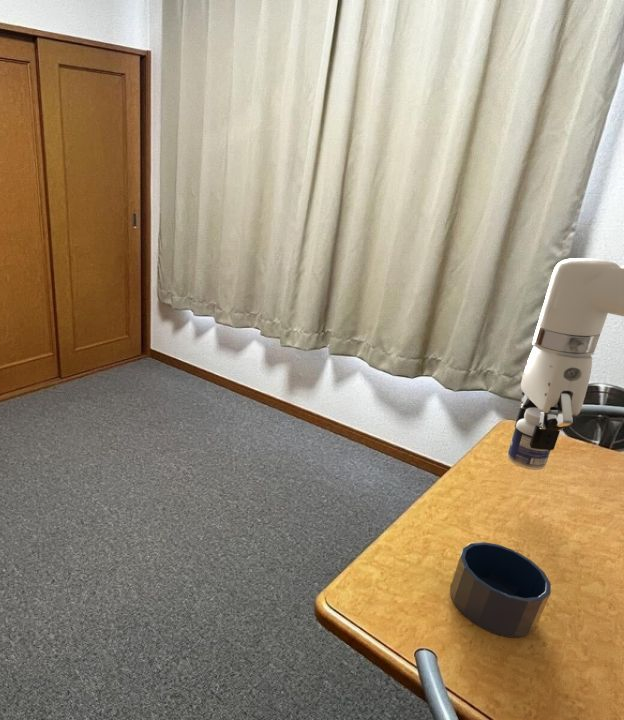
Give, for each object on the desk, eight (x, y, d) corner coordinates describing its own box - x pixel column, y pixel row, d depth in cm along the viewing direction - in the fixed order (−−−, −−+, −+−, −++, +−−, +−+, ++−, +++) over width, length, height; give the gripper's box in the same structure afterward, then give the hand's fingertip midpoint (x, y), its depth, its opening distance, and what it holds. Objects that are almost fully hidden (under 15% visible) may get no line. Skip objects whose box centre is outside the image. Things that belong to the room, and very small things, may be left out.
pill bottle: (510, 449, 86) (524, 402, 83) (547, 461, 83) (564, 412, 79) (503, 462, 83) (517, 413, 79) (542, 474, 79) (559, 424, 76)
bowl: (517, 585, 66) (531, 550, 64) (548, 646, 58) (565, 609, 56) (441, 570, 69) (452, 536, 66) (461, 627, 61) (474, 590, 58)
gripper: (627, 362, 66) (586, 470, 73) (566, 323, 81) (536, 417, 88) (562, 358, 68) (528, 464, 75) (514, 321, 83) (489, 412, 90)
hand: (533, 437), depth 81 cm, fingers closed on pill bottle, 5 cm apart
